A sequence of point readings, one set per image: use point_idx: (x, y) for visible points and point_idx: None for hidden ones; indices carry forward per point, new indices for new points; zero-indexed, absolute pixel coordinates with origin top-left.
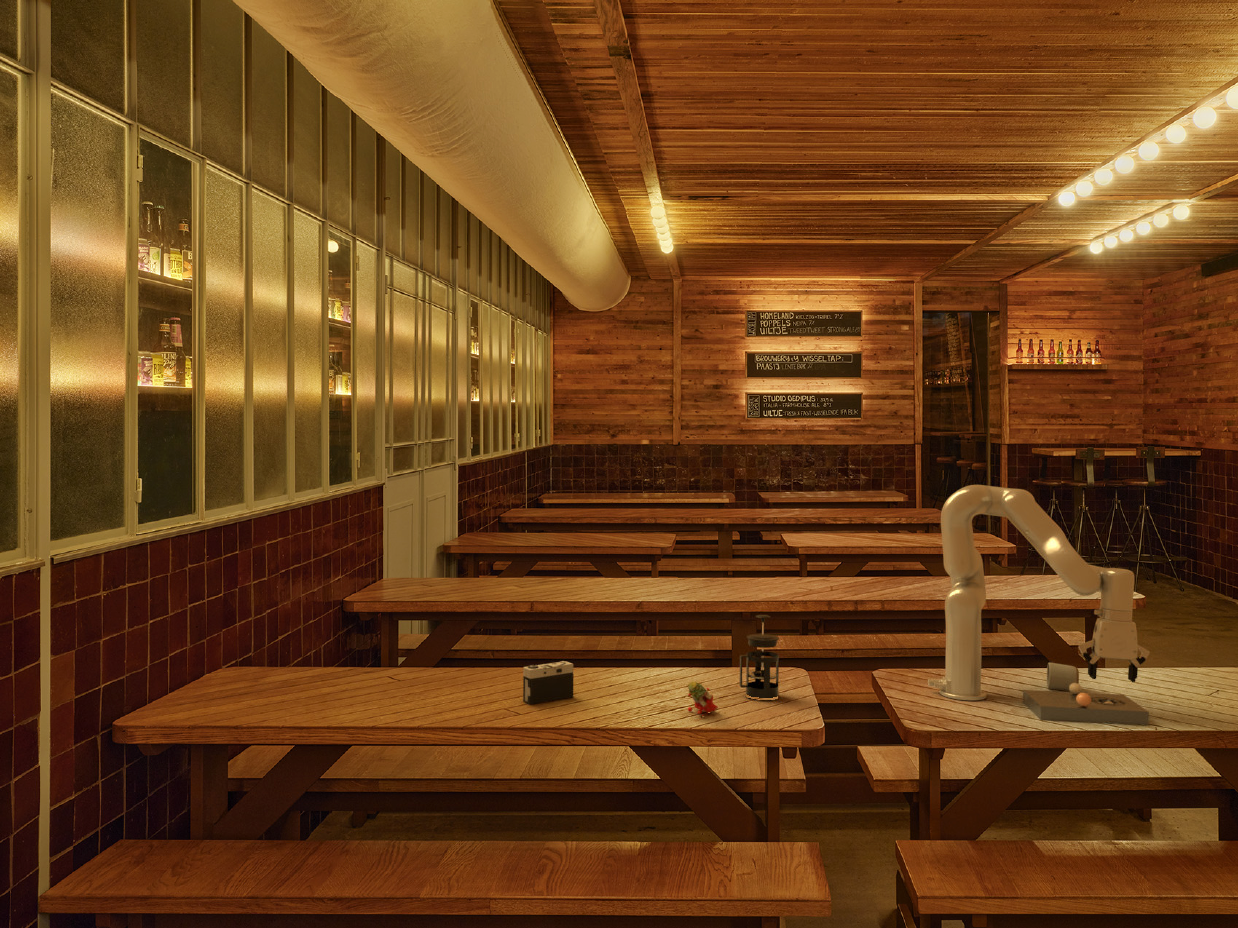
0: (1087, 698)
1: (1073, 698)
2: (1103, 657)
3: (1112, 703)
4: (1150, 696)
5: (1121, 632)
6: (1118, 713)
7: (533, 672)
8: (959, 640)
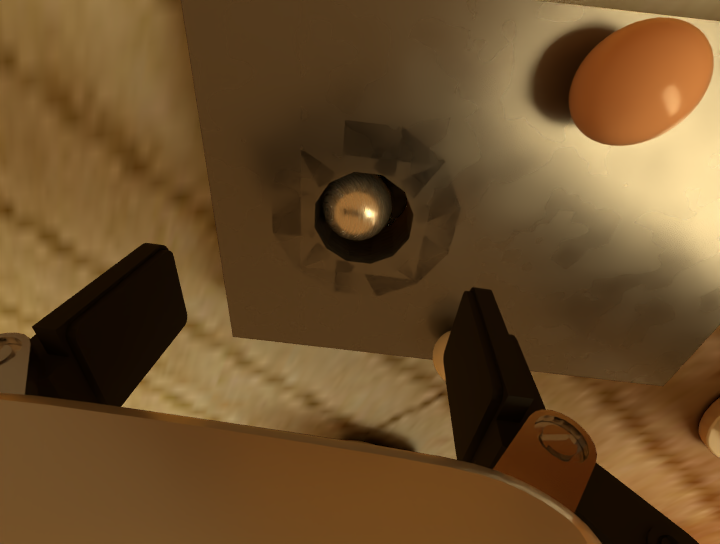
0: (664, 23)
1: (524, 265)
2: (483, 471)
3: (342, 201)
4: (131, 403)
5: None
6: None
7: None
8: None
